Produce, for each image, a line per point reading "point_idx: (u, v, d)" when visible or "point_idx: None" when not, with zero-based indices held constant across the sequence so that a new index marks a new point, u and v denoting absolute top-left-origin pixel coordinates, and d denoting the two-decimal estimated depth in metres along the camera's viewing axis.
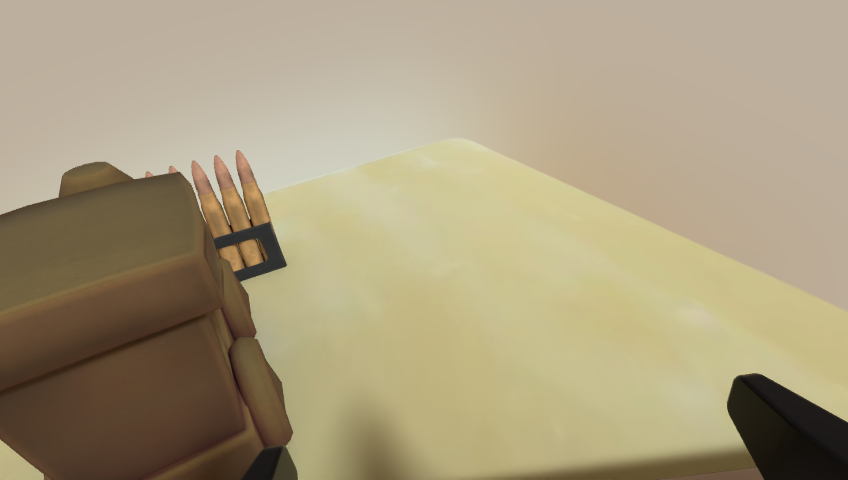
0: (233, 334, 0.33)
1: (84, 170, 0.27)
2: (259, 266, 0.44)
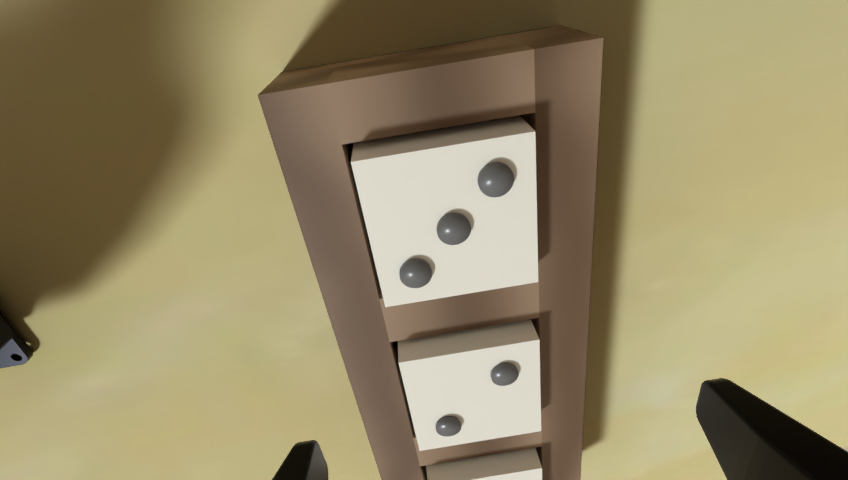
0: None
1: None
2: None
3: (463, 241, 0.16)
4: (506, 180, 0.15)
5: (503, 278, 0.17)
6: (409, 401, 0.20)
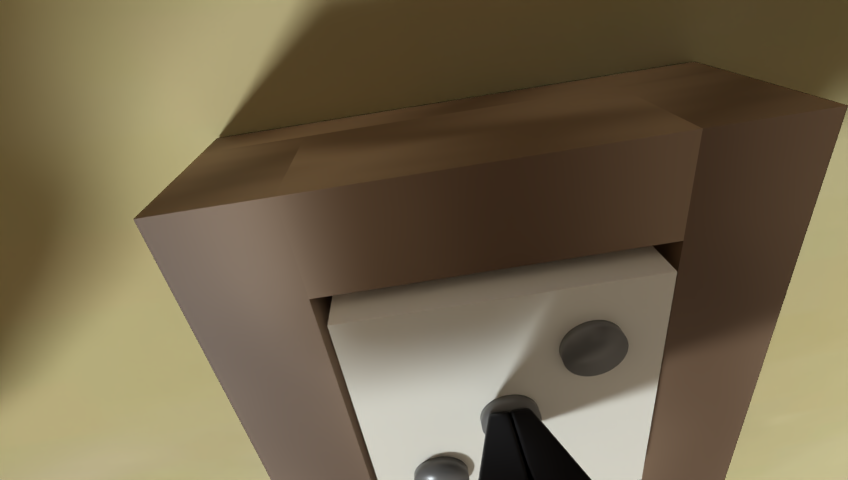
0: None
1: None
2: None
3: None
4: (614, 352, 0.08)
5: None
6: None
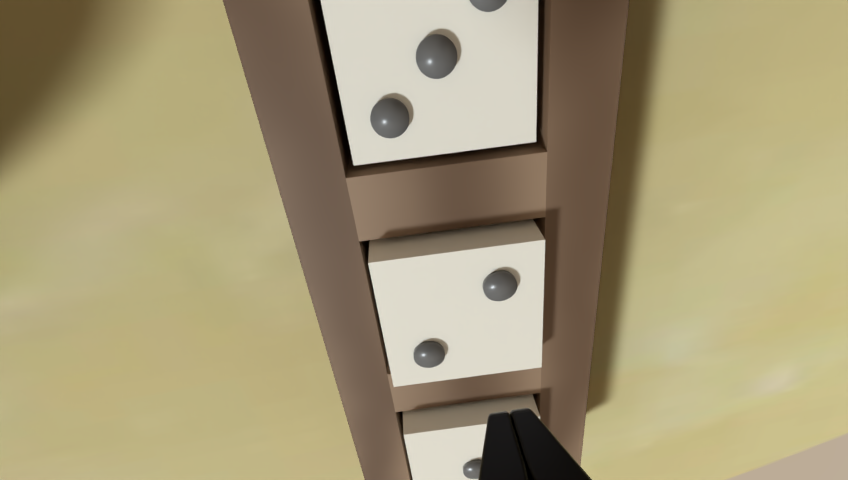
0: None
1: None
2: None
3: (448, 74, 0.14)
4: None
5: (494, 134, 0.15)
6: (381, 318, 0.17)
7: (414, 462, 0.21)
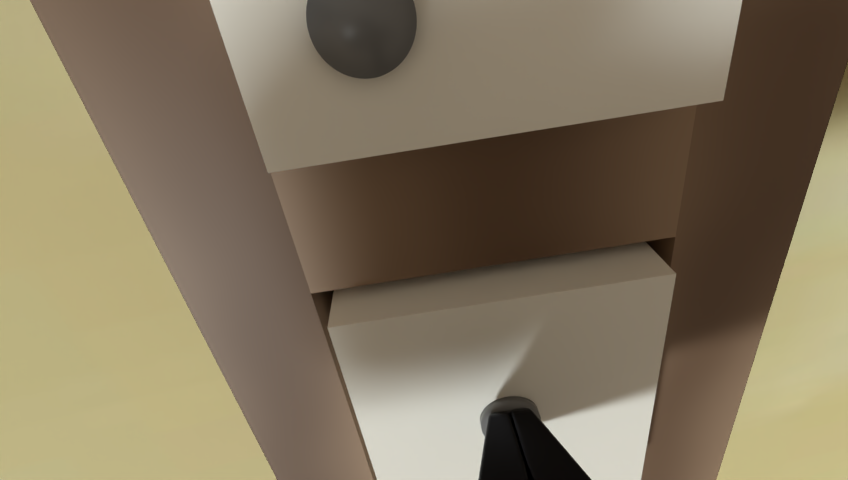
0: None
1: None
2: None
3: None
4: None
5: None
6: None
7: (366, 405, 0.09)
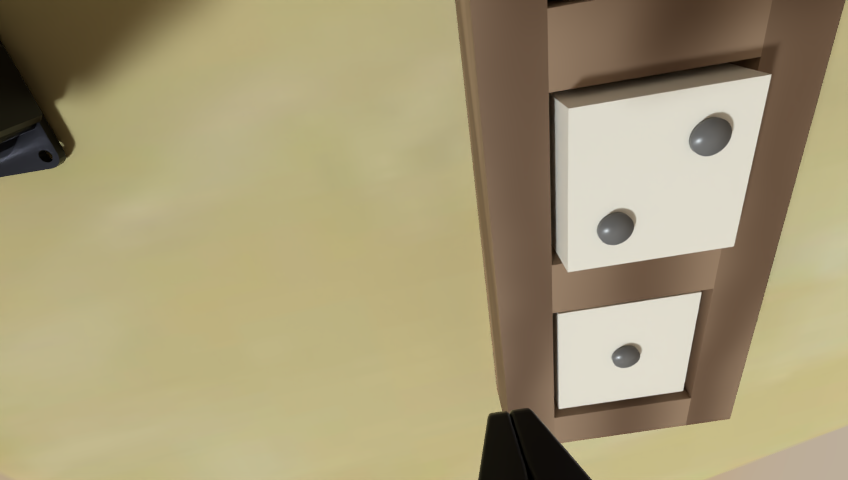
0: None
1: None
2: None
3: None
4: None
5: None
6: (570, 182, 0.15)
7: (564, 348, 0.20)
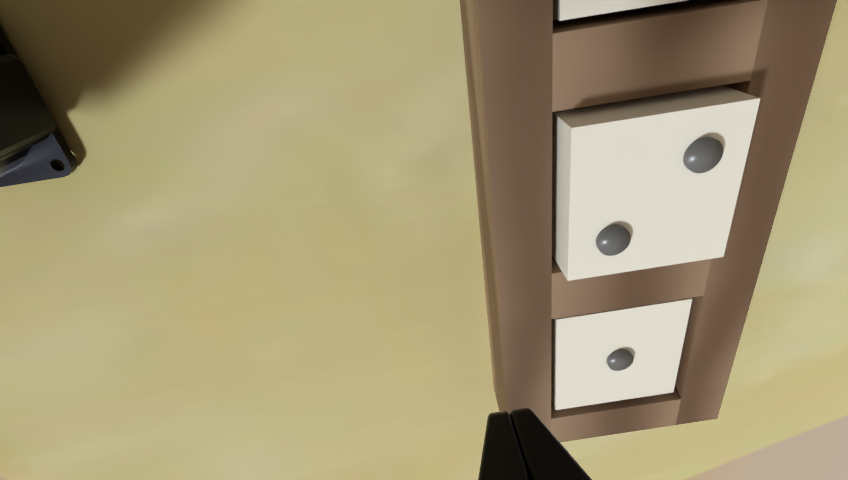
0: None
1: None
2: None
3: None
4: None
5: None
6: (571, 196, 0.16)
7: (561, 352, 0.21)
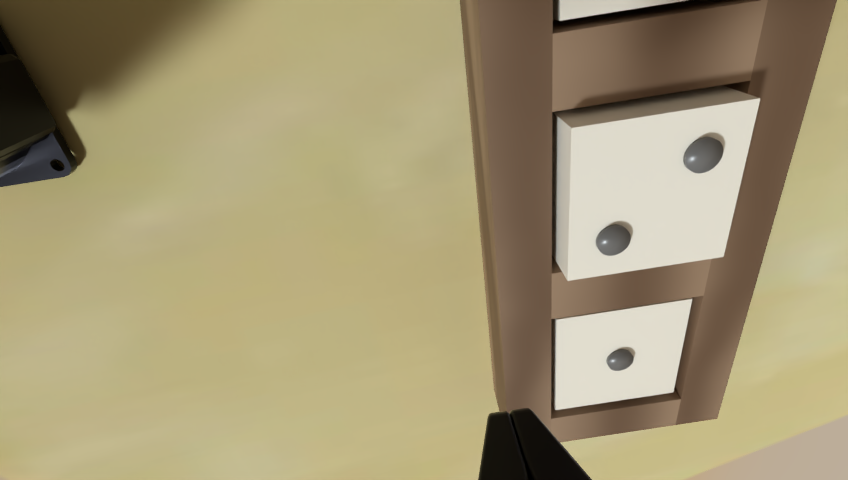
0: None
1: None
2: None
3: None
4: None
5: None
6: (571, 196, 0.16)
7: (561, 352, 0.21)
